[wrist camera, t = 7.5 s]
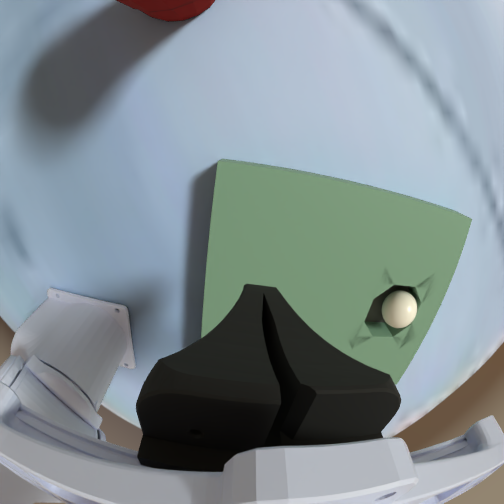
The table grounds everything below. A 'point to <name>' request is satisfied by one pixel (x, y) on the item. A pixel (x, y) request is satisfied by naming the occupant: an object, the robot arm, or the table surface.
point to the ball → (399, 309)
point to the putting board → (331, 256)
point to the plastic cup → (170, 8)
